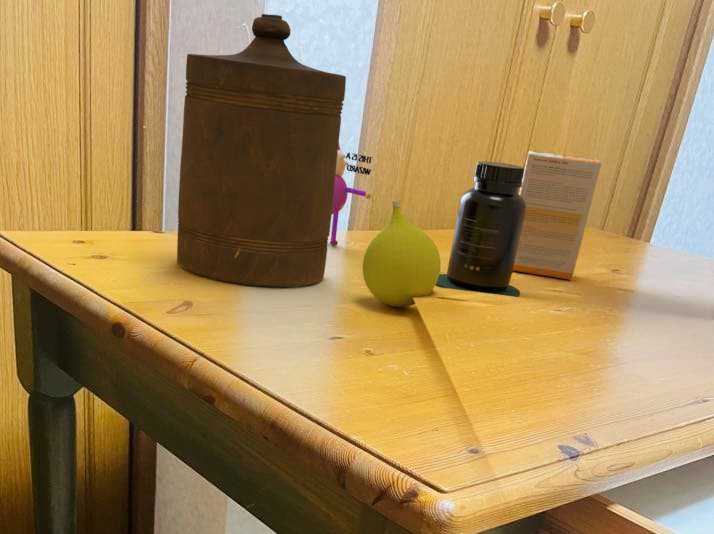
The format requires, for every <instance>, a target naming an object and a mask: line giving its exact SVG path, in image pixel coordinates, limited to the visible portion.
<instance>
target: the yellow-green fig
mask: <svg viewBox="0 0 714 534" xmlns="http://www.w3.org/2000/svg"><path fill="white" fill-rule="evenodd" d="M394 197H395V199H394V200H393V201H392V214H391V216H390V220H389V221H388V223H387V224H386V225H385V226H384V227H383V229H381V230H380V232H378V233H377V234H376V235H375V236H374V238H373V239H372V240H371V241H370V243H369V244H368V246H367V248H366V250H365V252H364V255H363V260H362V277H363V280H364V283H365V285H366V287H367V289H368V291H369V292H370V294H372V295H373V297H374V298H375V299H376V300H378V301H379V302H381V303H383V304H385V305H388V306H390V307H396V308H406V307H410V306H414V305H416V304H417V303H416V301H415V299H414V297H422V296H427V295H430V294H431V293H432V291H433V290H434V288H435V287H436V286H437V285H436V283H437V280H438V278H439V274H441V265H442V264H441V256H440V251H439V250H438V247H437V245H436V244H435V242H434V240H433V239H432V238H431V236H429V234H428V233H426V232H424V231H423V230H422V229H420V228H418V227H417V226H415V225H414V224H412V223H410V221H408V220H407V218H406V217H404V215H403V213H402V211H401V204H400V200H397V198H396V197H397V196H394Z"/></svg>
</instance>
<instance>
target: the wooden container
mask: <svg viewBox="0 0 714 534" xmlns="http://www.w3.org/2000/svg"><path fill="white" fill-rule="evenodd" d="M251 31H252V35H253V36H254V38H253V40H252V41H251V42H250V43H249V44H248V45H247V46H246V47H245V48H244V49H243V50H242V51H240V52H237V53H234V54H222V55H221V54H218V55H216V54H196V53H187V55H186V65H185V80H186V82H185V89H186V90H185V93H186V95H184V103H183V104H184V105H183V121H182V137H181V138H182V139H181V152H180V153H181V154H180V166H179V186H178V204H177V205H178V206H177V222H178V223H177V226H178V227H177V240H176V243H177V245H176V261H177V263H178V264H179V265H180V266H181V267H182V268H184V269H185V268H186V270H187V271H189V272H191V273H194V274H197V275H200V276H203V277H205V278H210V279H215V280H219V281H223V282H229V283H235V284H240V285H241V284H242V285H250V286H258V287H273V288H274V287H278V288H281V287H282V288H283V287H284V288H285V287H303V286H310V285H312V284H316V283H318V282H320V281H322V280H323V279H324V277H325V271H326V263H327V256H328V242H329V237H330V235H331V225H332V223H331V222H332V217H333V214H332V206H333V197H334V185H335V174H336V163H337V153H338V144H339V145H340V133H341V125H342V124H341V123H342V114H343V112H342V111H343V110H344V108H343V106H344V103H343V102H344V101H345V96H346V83H347V77H346V75H344V74H338V73H333V72H328V71H323V70H320V69H317V68H313V67H311V66H308V65H306V64H303V63H301V62H300V61H298V60H297V59H296V58H295V57H294V56H293V55H292V53H291V52H290V50H289V48H288V46H287V45H286V42H285V40H288V39H289V38H290V35H291V27H290V24H289V23H288V22H287V21H286V20H285V19H284V20H283V16H282V15H278V14H267V13H261V16H257V17H255V18H254V19H253V22H252V26H251Z"/></svg>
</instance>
